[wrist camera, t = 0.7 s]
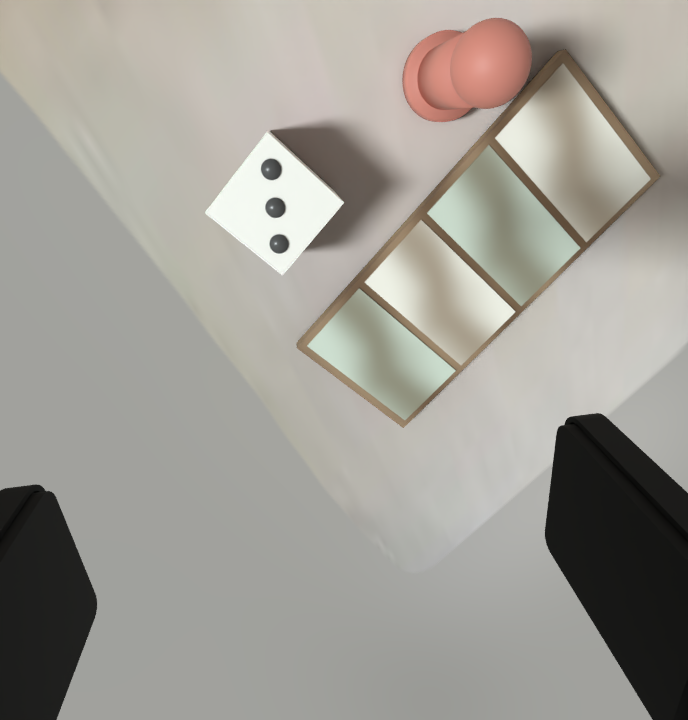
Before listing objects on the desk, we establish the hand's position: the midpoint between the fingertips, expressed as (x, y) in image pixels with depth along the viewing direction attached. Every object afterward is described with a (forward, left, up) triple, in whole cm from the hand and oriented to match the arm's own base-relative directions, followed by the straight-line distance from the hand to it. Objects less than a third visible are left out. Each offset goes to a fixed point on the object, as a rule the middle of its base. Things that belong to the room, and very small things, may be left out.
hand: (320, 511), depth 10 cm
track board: (-6, +10, -25) cm, 27 cm away
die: (-1, -2, -25) cm, 25 cm away
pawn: (-12, +1, -25) cm, 28 cm away
